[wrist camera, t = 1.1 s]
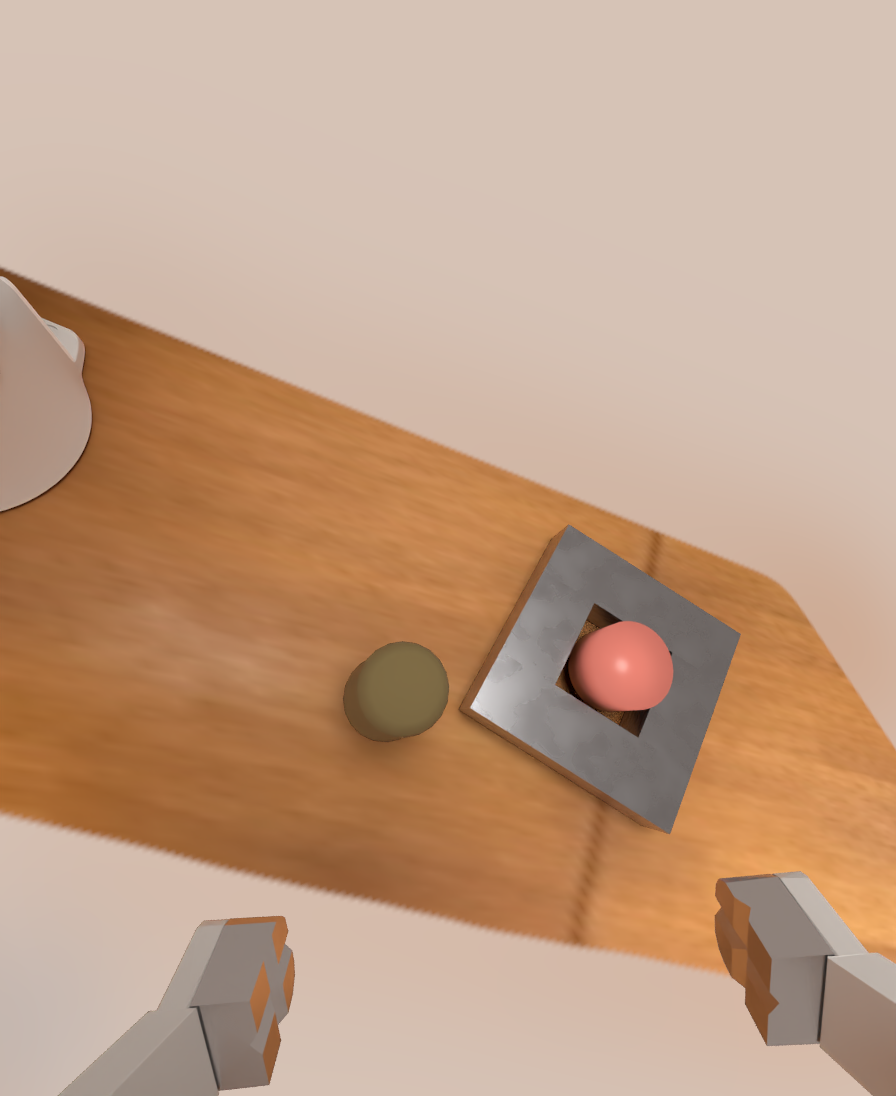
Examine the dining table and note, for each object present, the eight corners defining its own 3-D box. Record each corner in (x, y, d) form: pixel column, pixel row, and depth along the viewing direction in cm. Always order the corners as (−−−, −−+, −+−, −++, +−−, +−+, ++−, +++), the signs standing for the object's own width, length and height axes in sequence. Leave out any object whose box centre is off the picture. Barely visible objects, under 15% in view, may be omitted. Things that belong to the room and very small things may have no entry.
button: (555, 684, 40) (578, 679, 36) (588, 615, 42) (613, 604, 39) (624, 727, 40) (654, 727, 37) (653, 657, 42) (684, 650, 39)
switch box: (458, 709, 40) (470, 707, 37) (551, 538, 46) (568, 524, 43) (642, 825, 40) (669, 834, 37) (711, 640, 46) (740, 634, 43)
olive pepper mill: (411, 643, 41) (440, 615, 31) (439, 723, 40) (478, 721, 29) (332, 671, 39) (334, 650, 29) (358, 755, 38) (370, 765, 28)
